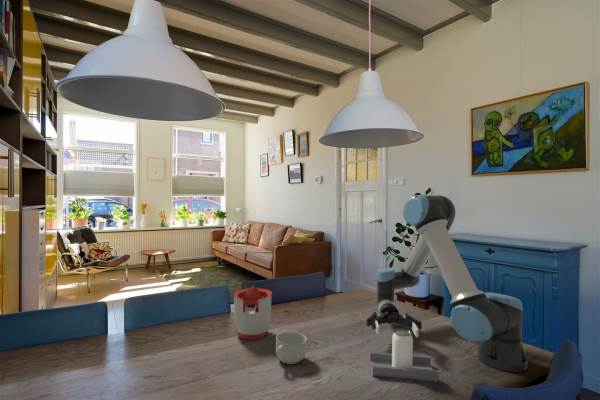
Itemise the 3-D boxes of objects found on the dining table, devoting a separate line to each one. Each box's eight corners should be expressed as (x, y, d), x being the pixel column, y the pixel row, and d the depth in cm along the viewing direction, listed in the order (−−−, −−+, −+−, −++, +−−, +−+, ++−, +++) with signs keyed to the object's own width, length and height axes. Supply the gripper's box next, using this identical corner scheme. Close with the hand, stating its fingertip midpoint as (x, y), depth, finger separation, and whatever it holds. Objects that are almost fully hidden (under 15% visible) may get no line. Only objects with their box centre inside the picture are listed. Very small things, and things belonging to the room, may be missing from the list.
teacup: (289, 349, 121) (289, 328, 121) (312, 359, 114) (313, 336, 114) (262, 364, 111) (262, 340, 111) (286, 375, 104) (286, 350, 104)
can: (403, 362, 112) (404, 327, 112) (416, 371, 106) (417, 334, 106) (387, 365, 110) (388, 329, 110) (400, 375, 104) (400, 337, 104)
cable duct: (429, 364, 112) (429, 356, 112) (438, 381, 101) (438, 372, 101) (369, 360, 114) (370, 351, 114) (372, 376, 104) (372, 367, 104)
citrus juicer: (228, 344, 125) (229, 292, 125) (236, 326, 142) (236, 280, 142) (270, 344, 125) (270, 292, 125) (272, 326, 143) (273, 281, 142)
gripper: (419, 322, 136) (433, 345, 115) (358, 318, 139) (361, 340, 118) (419, 304, 136) (434, 323, 115) (358, 301, 139) (362, 319, 118)
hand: (397, 332), depth 116 cm, fingers open, 13 cm apart
